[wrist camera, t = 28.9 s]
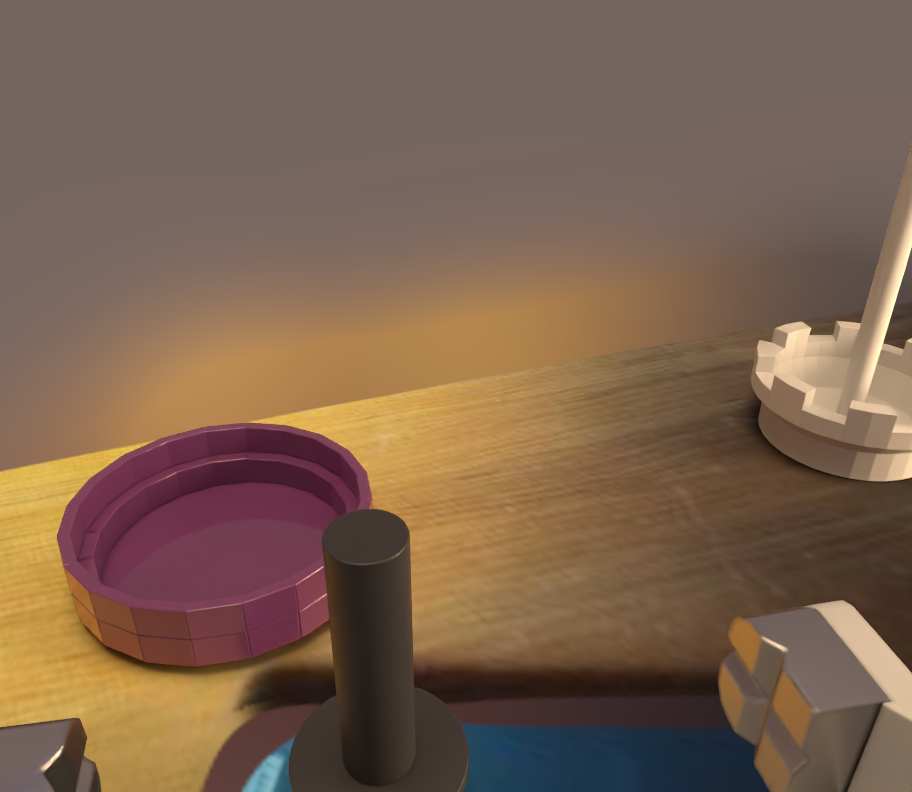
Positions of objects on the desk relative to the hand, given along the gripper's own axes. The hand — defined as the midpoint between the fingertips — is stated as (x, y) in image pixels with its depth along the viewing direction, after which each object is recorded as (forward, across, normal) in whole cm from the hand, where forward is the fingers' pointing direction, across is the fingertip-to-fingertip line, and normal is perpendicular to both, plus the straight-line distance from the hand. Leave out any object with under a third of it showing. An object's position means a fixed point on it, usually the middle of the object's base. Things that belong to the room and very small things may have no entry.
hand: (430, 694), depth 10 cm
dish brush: (+12, 0, +21) cm, 24 cm away
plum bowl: (+28, +6, +21) cm, 36 cm away
